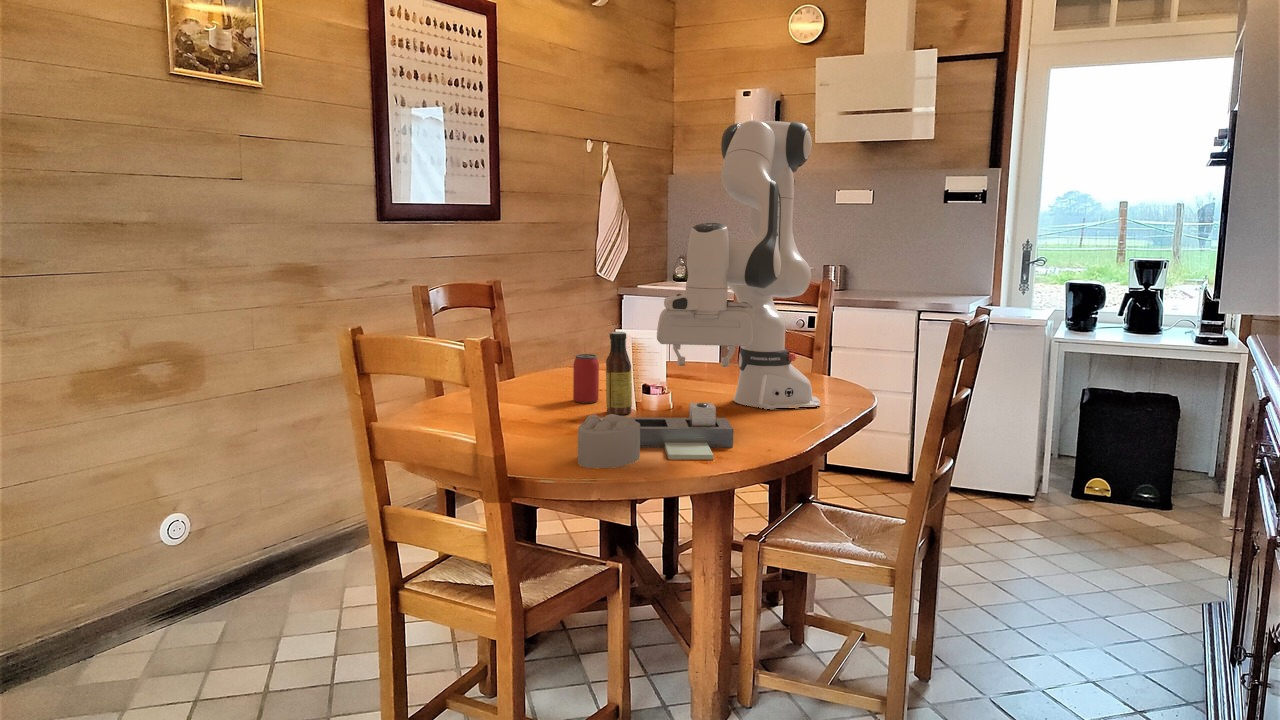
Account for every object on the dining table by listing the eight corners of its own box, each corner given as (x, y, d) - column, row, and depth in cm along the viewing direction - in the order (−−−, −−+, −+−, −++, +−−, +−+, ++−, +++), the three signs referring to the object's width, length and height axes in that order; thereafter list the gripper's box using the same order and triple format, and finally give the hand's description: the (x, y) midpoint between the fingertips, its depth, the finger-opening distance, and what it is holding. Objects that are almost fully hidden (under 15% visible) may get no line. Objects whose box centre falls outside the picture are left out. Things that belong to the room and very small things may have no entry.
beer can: (600, 399, 225) (600, 354, 223) (596, 404, 219) (597, 358, 217) (575, 398, 226) (575, 353, 224) (571, 403, 219) (571, 357, 217)
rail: (725, 435, 190) (725, 417, 190) (732, 447, 181) (733, 429, 180) (617, 435, 189) (617, 417, 188) (619, 447, 179) (619, 428, 178)
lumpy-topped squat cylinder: (646, 458, 172) (647, 416, 170) (605, 473, 161) (606, 428, 160) (606, 449, 178) (606, 408, 176) (564, 462, 167) (564, 419, 166)
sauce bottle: (636, 413, 210) (638, 333, 207) (619, 417, 206) (620, 335, 202) (617, 408, 214) (619, 330, 211) (600, 412, 210) (601, 332, 207)
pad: (706, 447, 180) (707, 442, 180) (713, 459, 171) (713, 454, 171) (664, 447, 180) (664, 442, 179) (668, 459, 171) (668, 454, 171)
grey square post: (711, 438, 188) (712, 401, 186) (714, 444, 183) (715, 406, 181) (688, 438, 187) (689, 401, 186) (691, 444, 182) (692, 406, 181)
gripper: (752, 301, 184) (748, 364, 186) (657, 298, 182) (654, 362, 184) (757, 303, 177) (754, 369, 180) (659, 301, 176) (657, 367, 178)
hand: (703, 365), depth 182 cm, fingers open, 8 cm apart
